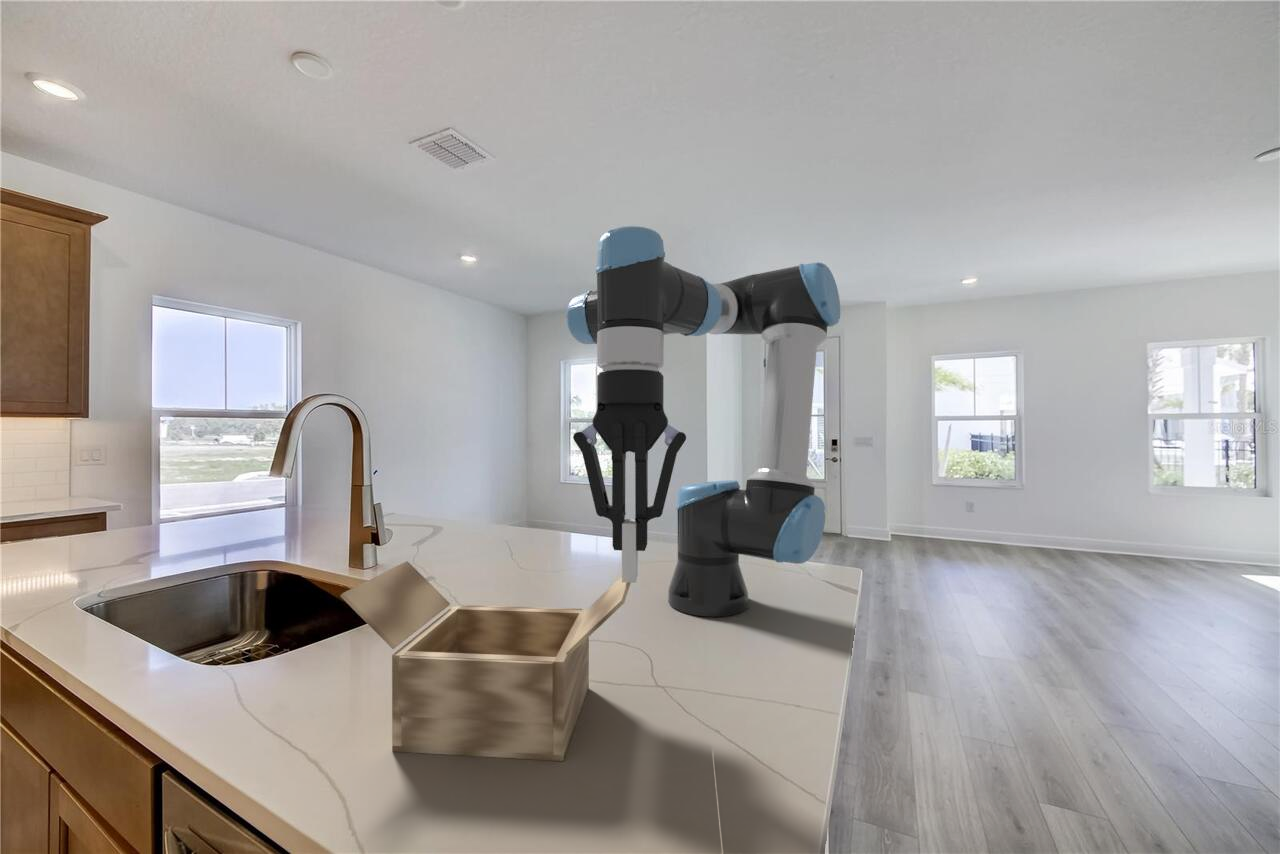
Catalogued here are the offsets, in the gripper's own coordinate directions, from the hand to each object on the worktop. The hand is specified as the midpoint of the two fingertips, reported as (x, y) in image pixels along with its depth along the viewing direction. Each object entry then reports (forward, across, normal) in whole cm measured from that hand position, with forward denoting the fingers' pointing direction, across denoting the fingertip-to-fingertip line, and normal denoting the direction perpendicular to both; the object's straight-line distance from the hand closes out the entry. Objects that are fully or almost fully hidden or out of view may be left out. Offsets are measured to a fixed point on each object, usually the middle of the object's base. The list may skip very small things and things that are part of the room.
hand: (630, 578), depth 57 cm
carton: (+16, +15, 0) cm, 22 cm away
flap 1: (+3, +27, 0) cm, 27 cm away
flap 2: (+3, +3, 0) cm, 4 cm away
